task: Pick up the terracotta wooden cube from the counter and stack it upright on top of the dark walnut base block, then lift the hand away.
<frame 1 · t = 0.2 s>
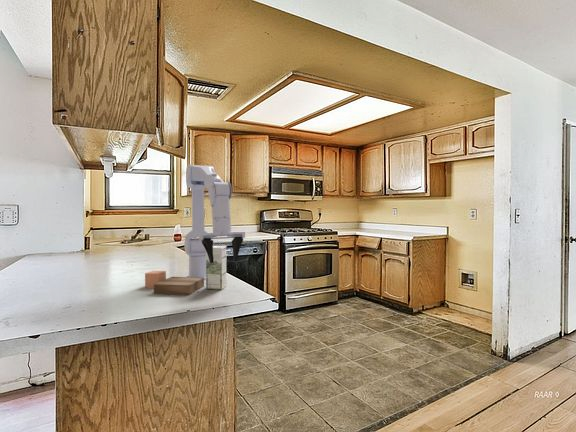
hand: (223, 262, 105), 10 cm above the table, tool pointing down, fingers open, 7 cm apart
syrup box: (216, 288, 115), on the table
walnut base: (180, 289, 112), on the table
cube: (155, 286, 117), on the table
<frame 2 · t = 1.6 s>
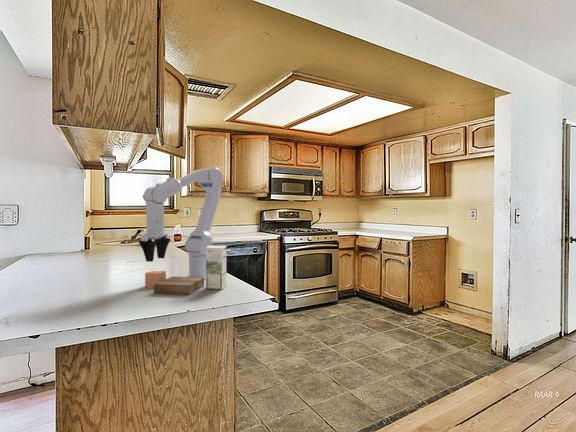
hand: (155, 259, 117), 9 cm above the table, tool pointing down, fingers open, 7 cm apart
nothing on the table moved.
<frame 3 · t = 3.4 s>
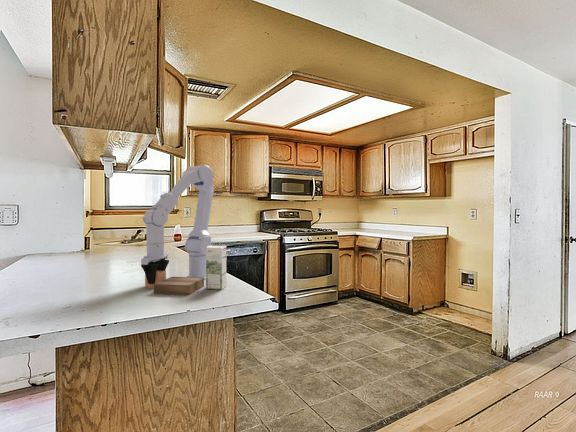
hand: (155, 281, 117), 1 cm above the table, tool pointing down, fingers closed on cube, 5 cm apart
cube: (155, 285, 117), on the table, touching gripper
everything else where it was.
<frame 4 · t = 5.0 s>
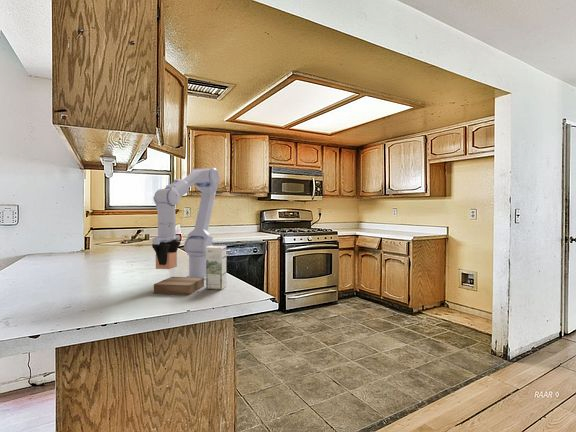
hand: (166, 263, 115), 8 cm above the table, tool pointing down, fingers closed on cube, 5 cm apart
cube: (166, 267, 115), point 7 cm above the table, touching gripper
everything else where it was.
when the fingers open (5 cm above the table, at t = 6.8 s): cube stays where it is, resting on walnut base.
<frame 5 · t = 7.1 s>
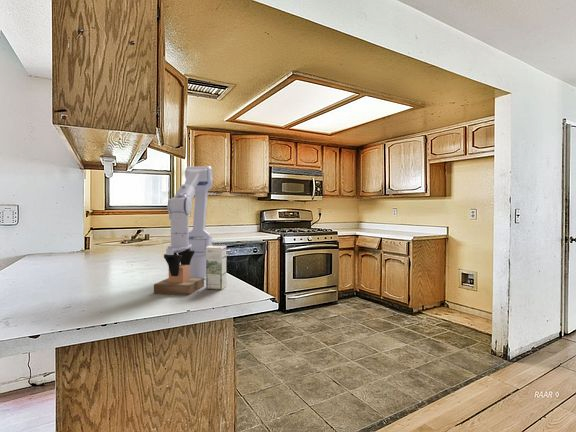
hand: (179, 273, 112), 5 cm above the table, tool pointing down, fingers open, 7 cm apart
cube: (179, 280, 112), point 3 cm above the table, touching walnut base
everything else where it was.
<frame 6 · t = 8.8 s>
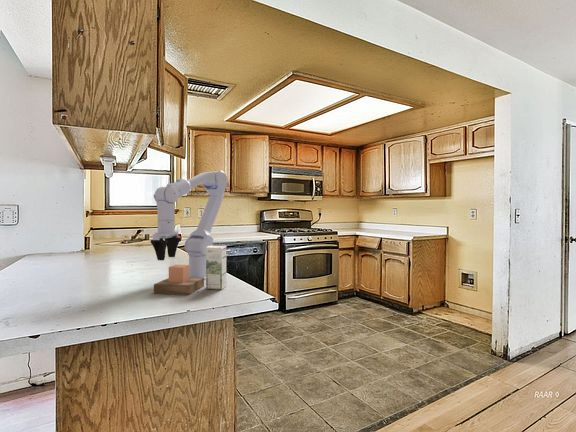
hand: (166, 258, 119), 9 cm above the table, tool pointing down, fingers open, 7 cm apart
nothing on the table moved.
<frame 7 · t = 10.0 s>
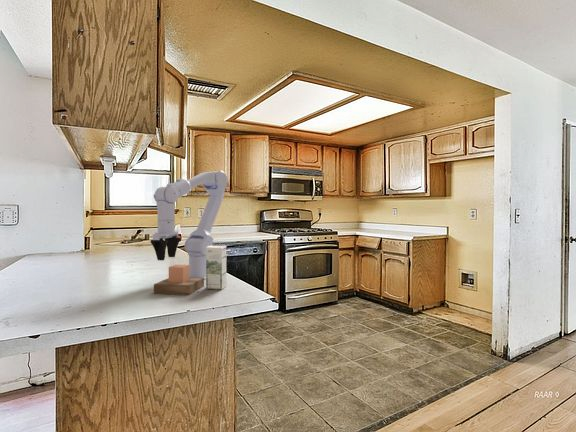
hand: (166, 258, 119), 9 cm above the table, tool pointing down, fingers open, 7 cm apart
nothing on the table moved.
at the end: cube inside the target area on the walnut base (0.2 cm from its centre), point 3.0 cm above the walnut base's base; cube tilted 0°; cube touching walnut base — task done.
